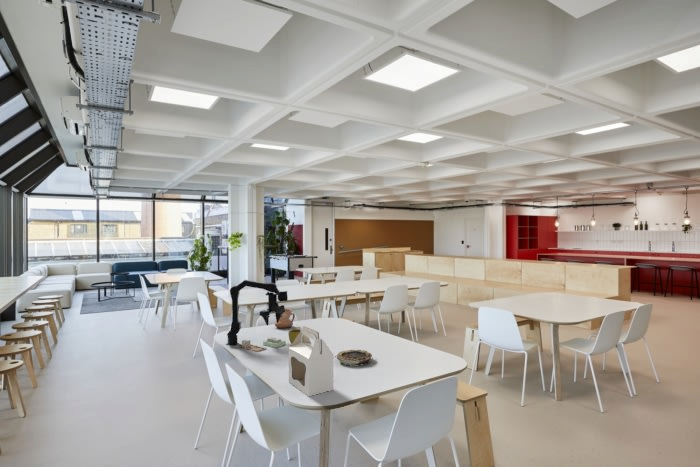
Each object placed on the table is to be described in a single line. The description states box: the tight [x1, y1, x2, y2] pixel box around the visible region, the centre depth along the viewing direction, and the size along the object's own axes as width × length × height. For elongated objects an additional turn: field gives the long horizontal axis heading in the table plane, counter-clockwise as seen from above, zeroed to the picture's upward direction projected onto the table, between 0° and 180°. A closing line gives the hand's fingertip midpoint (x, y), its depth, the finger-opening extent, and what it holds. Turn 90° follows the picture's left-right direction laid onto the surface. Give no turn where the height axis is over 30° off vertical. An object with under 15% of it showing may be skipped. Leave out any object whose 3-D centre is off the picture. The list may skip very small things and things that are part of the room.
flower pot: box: [288, 328, 301, 345], centre depth 268 cm, size 9×9×9 cm
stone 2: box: [273, 337, 282, 343], centre depth 262 cm, size 4×4×4 cm
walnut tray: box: [237, 343, 268, 353], centre depth 256 cm, size 20×8×1 cm, turn 53°
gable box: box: [288, 325, 334, 397], centre depth 191 cm, size 22×13×28 cm, turn 34°
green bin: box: [262, 339, 286, 349], centre depth 264 cm, size 12×10×3 cm
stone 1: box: [241, 338, 251, 348], centre depth 260 cm, size 4×4×4 cm
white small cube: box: [267, 336, 277, 343], centre depth 265 cm, size 4×4×4 cm
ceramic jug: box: [273, 308, 295, 329], centre depth 317 cm, size 18×14×14 cm
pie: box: [334, 349, 373, 367], centre depth 230 cm, size 28×27×5 cm
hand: (272, 324), depth 270 cm, fingers open, 9 cm apart
